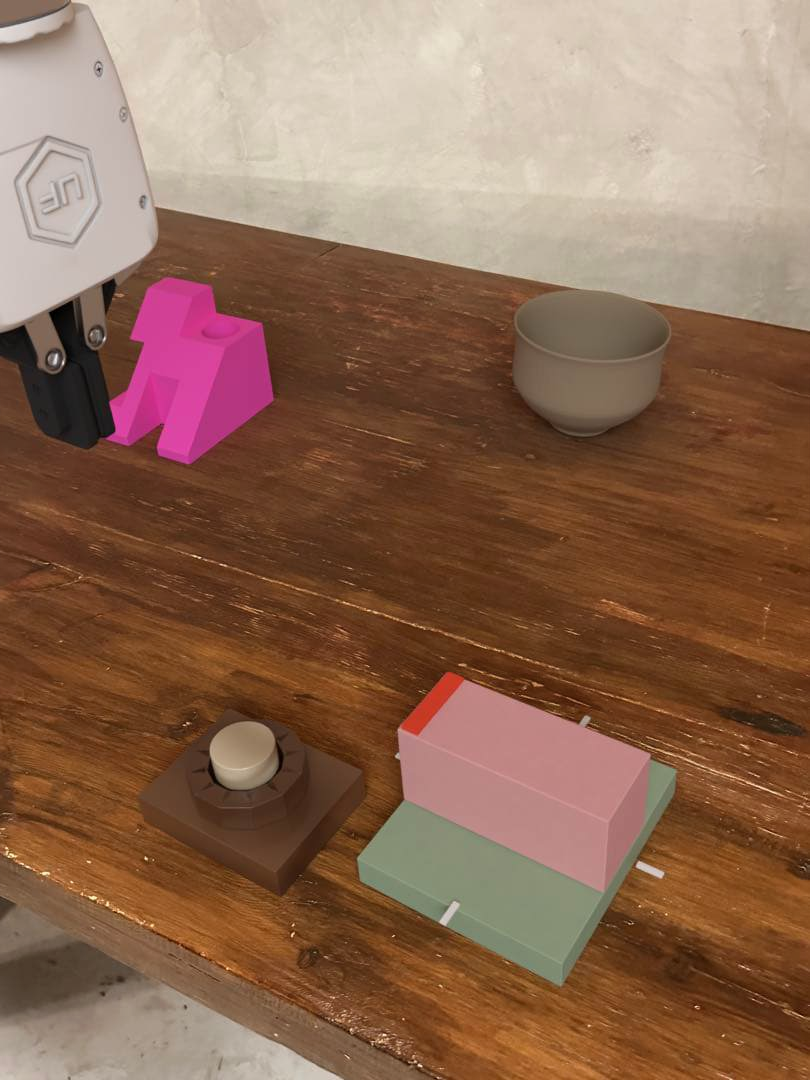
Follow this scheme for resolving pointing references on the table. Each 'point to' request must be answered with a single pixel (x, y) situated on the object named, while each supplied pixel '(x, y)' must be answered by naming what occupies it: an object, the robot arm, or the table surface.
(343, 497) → the table surface
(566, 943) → the green mat
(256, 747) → the button
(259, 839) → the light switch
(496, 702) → the pink bar
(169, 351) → the bracket
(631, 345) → the bowl
